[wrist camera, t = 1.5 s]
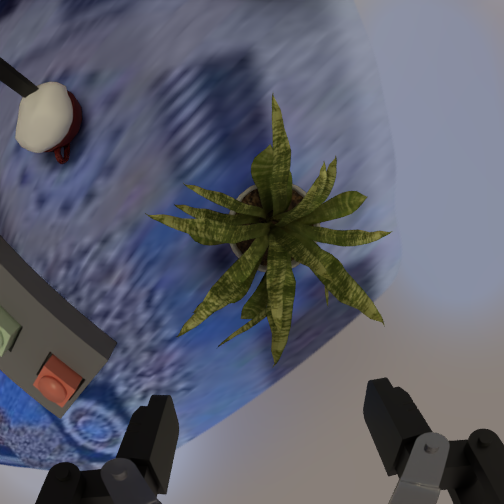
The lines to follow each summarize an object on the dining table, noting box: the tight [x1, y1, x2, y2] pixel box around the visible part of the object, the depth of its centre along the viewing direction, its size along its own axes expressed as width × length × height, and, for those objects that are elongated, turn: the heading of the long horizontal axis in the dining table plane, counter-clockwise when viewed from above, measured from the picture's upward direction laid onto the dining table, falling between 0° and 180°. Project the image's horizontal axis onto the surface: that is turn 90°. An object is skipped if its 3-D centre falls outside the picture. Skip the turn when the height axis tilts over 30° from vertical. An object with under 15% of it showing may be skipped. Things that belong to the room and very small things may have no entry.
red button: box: [33, 354, 83, 407], centre depth 29 cm, size 4×4×4 cm
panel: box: [0, 236, 117, 419], centre depth 29 cm, size 24×14×4 cm, turn 47°
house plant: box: [145, 95, 392, 368], centre depth 22 cm, size 14×14×16 cm
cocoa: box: [0, 57, 82, 164], centre depth 20 cm, size 10×6×12 cm, turn 176°
